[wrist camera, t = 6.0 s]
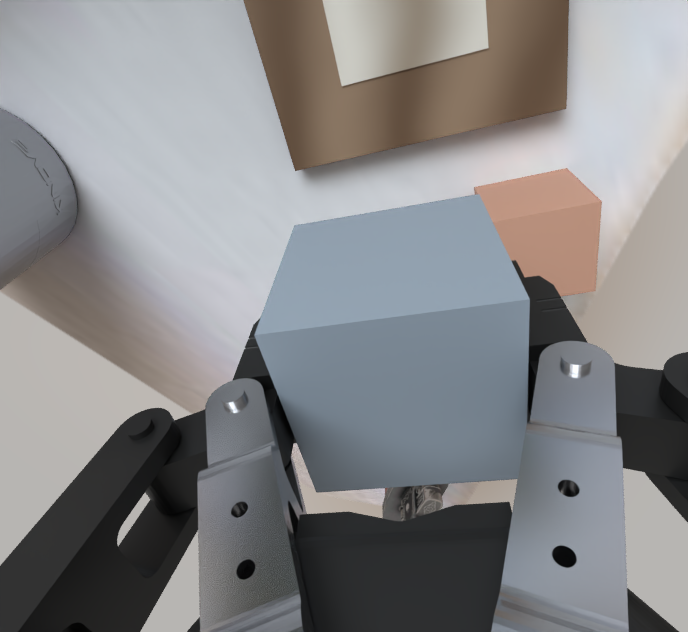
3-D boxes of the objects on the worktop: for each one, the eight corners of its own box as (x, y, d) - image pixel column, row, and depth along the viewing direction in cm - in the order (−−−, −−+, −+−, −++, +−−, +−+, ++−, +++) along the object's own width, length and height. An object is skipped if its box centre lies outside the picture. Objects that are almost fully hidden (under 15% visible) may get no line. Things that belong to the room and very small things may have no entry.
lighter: (408, 371, 35) (416, 488, 27) (450, 382, 35) (471, 501, 27) (374, 438, 39) (372, 556, 31) (411, 447, 40) (419, 566, 32)
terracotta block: (480, 262, 29) (496, 306, 25) (474, 186, 27) (490, 222, 22) (564, 247, 28) (595, 290, 24) (566, 167, 26) (601, 201, 22)
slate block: (333, 361, 16) (316, 492, 12) (294, 225, 13) (254, 335, 9) (485, 343, 15) (525, 478, 11) (479, 194, 12) (529, 299, 8)
